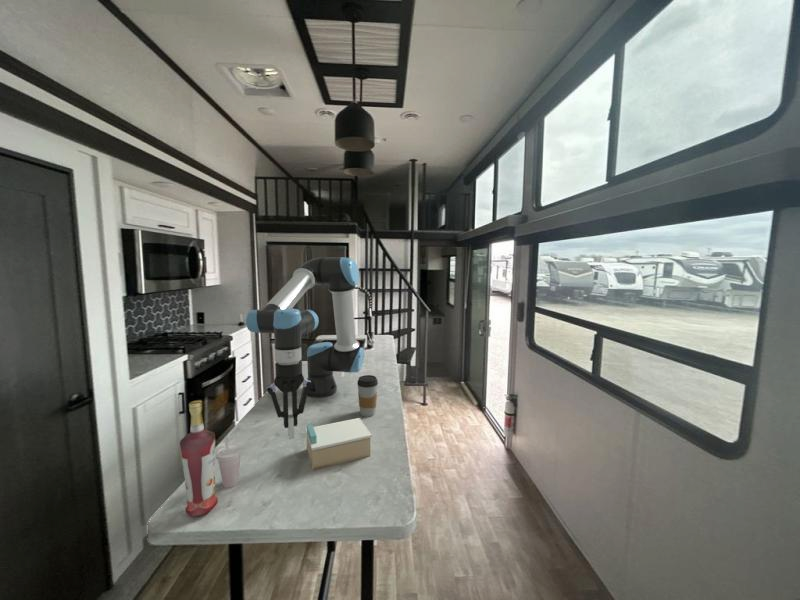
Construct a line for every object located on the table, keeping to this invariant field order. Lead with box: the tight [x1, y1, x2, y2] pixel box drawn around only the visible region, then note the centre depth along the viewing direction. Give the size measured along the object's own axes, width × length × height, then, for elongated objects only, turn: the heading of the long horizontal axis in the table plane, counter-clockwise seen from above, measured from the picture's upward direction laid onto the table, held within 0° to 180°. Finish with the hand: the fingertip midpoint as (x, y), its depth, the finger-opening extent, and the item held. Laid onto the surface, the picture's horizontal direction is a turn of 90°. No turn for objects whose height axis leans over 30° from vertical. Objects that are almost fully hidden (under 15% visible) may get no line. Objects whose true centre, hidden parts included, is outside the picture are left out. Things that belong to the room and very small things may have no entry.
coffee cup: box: [357, 374, 379, 418], centre depth 134 cm, size 8×8×15 cm
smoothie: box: [215, 435, 243, 489], centre depth 91 cm, size 6×6×14 cm
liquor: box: [179, 399, 219, 517], centre depth 80 cm, size 7×7×28 cm
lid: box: [304, 417, 373, 451], centre depth 106 cm, size 13×19×3 cm
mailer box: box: [305, 435, 371, 471], centre depth 106 cm, size 12×18×6 cm, turn 115°
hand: (291, 436), depth 100 cm, fingers closed
